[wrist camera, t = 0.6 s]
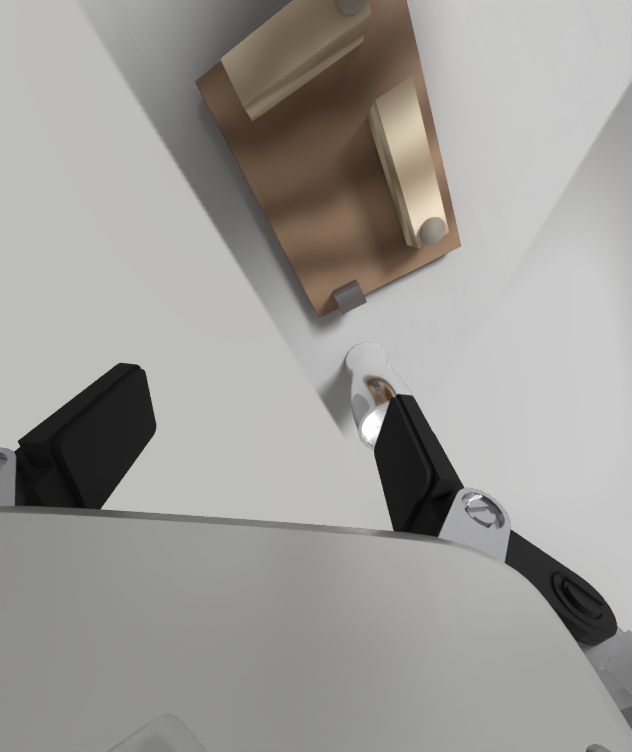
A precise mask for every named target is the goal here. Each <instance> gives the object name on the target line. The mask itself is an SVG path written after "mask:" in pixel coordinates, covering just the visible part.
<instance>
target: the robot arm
mask: <svg viewBox="0 0 632 752" xmlns="http://www.w3.org/2000/svg"><path fill="white" fill-rule="evenodd" d="M155 431H156V421H155V416H154V412H153V407H152V402H151V397H150V392H149V388H148V382H147V377H146V373H145V371H144V370H143V369H141V368H140V366H139V365H136V364H126V363H119V364H117V365H116V366H114V367H113V368H112V369H111V370H109V371H108V372H107V373H105V374H104V375H103V376H101V377H100V378H99V379H98V380H96V381H95V382H94V383H92V384H91V385H90V386H88V387H87V388H86V389H85V390H83V391H82V392H81V393H79V394H78V395H77V396H75V397H74V398H73V399H72V400H70V401H69V402H68V403H66V404H65V405H64V406H62V407H61V408H60V409H59V410H57V411H56V412H55V413H54V414H52V415H51V416H50V417H48V418H47V419H46V420H44V421H43V422H42V423H40V424H39V425H38V426H37V427H35V428H34V429H33V430H31V431H30V432H29V433H27V434H26V435H25V436H24V437H23V438H21V439H20V440H18V443H19V445H20V447H19V448H18V449H17V450H16V451H14V452H13V451H12V450H10V449H7V448H0V752H632V632H631V631H630V630H628V631H627V632H625V633H624V632H623V631H622V630H621V629H620V628H619V627H618V626H617V623H616V619H615V616H614V614H613V612H612V610H611V608H610V606H609V605H608V604H607V602H606V601H605V600H604V598H603V597H602V596H601V595H600V594H599V593H598V592H597V591H596V590H595V589H594V588H593V587H592V586H591V585H590V584H589V583H588V582H586V581H585V580H584V579H583V578H581V577H580V576H579V575H577V574H576V573H574V572H573V571H571V570H570V569H568V568H567V567H565V566H564V565H562V564H561V563H559V562H558V561H556V560H555V559H554V558H552V557H551V556H549V555H548V554H546V553H545V552H543V551H542V550H540V549H539V548H537V547H536V546H534V545H533V544H531V543H530V542H529V541H527V540H526V539H524V538H523V537H521V536H520V535H518V534H517V533H515V532H514V531H512V530H511V521H510V518H509V516H508V513H507V512H506V510H505V509H504V508H503V506H502V505H501V504H499V502H498V501H497V500H496V499H494V498H493V497H491V496H490V495H489V494H487V493H485V492H483V491H481V490H478V489H474V488H464V486H463V484H462V483H461V481H460V479H459V477H458V475H457V474H456V472H455V470H454V468H453V466H452V465H451V463H450V461H449V460H448V458H447V455H446V454H445V452H444V450H443V448H442V446H441V444H440V443H439V441H438V439H437V437H436V435H435V434H434V433H433V431H432V430H431V427H430V426H429V424H428V422H427V420H426V418H425V417H424V415H423V413H422V411H421V409H420V407H419V406H418V404H417V402H416V400H415V398H414V397H413V396H412V395H405V394H397V395H396V396H395V397H392V398H391V399H390V402H389V405H388V408H387V411H386V414H385V417H384V420H383V423H382V426H381V429H380V432H379V435H378V438H377V441H376V443H375V447H374V455H375V459H376V463H377V467H378V471H379V475H380V479H381V483H382V487H383V491H384V495H385V499H386V503H387V507H388V511H389V515H390V518H391V522H392V526H393V530H394V531H385V530H374V529H364V528H352V527H339V526H326V525H313V524H300V523H287V522H274V521H260V520H246V519H232V518H217V517H203V516H189V515H174V514H159V513H145V512H130V511H113V510H100V509H101V508H102V506H103V505H104V503H105V502H106V501H107V499H108V498H109V497H110V495H111V493H112V492H113V491H114V489H115V488H116V487H117V485H118V484H119V483H120V481H121V479H122V478H123V477H124V476H125V474H126V473H127V471H128V470H129V469H130V467H131V466H132V465H133V463H134V462H135V460H136V459H137V458H138V456H139V455H140V453H141V452H142V451H143V449H144V448H145V446H146V445H147V444H148V442H149V441H150V439H151V438H152V437H153V435H154V433H155Z"/></svg>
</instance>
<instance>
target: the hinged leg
mask: <svg viewBox="0 0 632 752" xmlns="http://www.w3.org/2000/svg"><path fill="white" fill-rule="evenodd" d="M367 119H368V122H369V125H370V128H371V132H372V135H373V138H374V141H375V144H376V148H377V151H378V154H379V157H380V160H381V164H382V167H383V170H384V173H385V176H386V180H387V183H388V186H389V189H390V192H391V195H392V199H393V202H394V205H395V208H396V211H397V215H398V218H399V221H400V224H401V227H402V231H403V234H404V237H405V240H406V243H407V245H409V246H412V247H416V248H421V247H423V246H425V245H427V244H429V243H430V244H433V243H436V242H438V241H439V240H440V239H441V238H442V237H443V236H444V235H446V234H448V233H449V229H448V225H447V221H446V217H445V212H444V208H443V204H442V200H441V195H440V191H439V187H438V183H437V179H436V174H435V170H434V166H433V162H432V158H431V153H430V149H429V145H428V141H427V136H426V132H425V128H424V124H423V120H422V115H421V111H420V107H419V103H418V98H417V94H416V90H415V86H414V82H413V77H412V76H411V77H409V78H408V79H406V80H405V81H403V82H402V83H400V84H399V85H397V86H396V87H394V88H393V89H391V90H390V91H388V92H387V93H385V94H384V95H382V96H381V97H379V98H378V99H376V100H375V102H374V103H373V105H372V107H371V109H370V111H369V113H368V114H367Z"/></svg>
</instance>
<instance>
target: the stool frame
mask: <svg viewBox="0 0 632 752" xmlns="http://www.w3.org/2000/svg"><path fill="white" fill-rule="evenodd" d="M220 59H221V61H220V62H219V63H218V64H217V65H215V66H214V67H213V68H212V69H210V70H209V71H208V72H207V73H205V74H204V75H203V76H202V77H200V78H199V79H198V80H197V81H195V82H196V84H197V86H198V88H199V90H200V92H201V94H202V96H203V98H204V100H205V101H206V103H207V105H208V107H209V109H210V111H211V113H212V115H213V117H214V119H215V121H216V122H217V124H218V126H219V128H220V130H221V132H222V134H223V136H224V138H225V140H226V141H227V143H228V145H229V147H230V149H231V151H232V153H233V155H234V157H235V159H236V161H237V162H238V164H239V166H240V168H241V170H242V172H243V174H244V176H245V178H246V180H247V181H248V183H249V185H250V187H251V189H252V191H253V193H254V195H255V197H256V199H257V200H258V202H259V204H260V206H261V208H262V210H263V212H264V214H265V216H266V218H267V220H268V221H269V223H270V225H271V227H272V229H273V231H274V233H275V235H276V237H277V239H278V240H279V242H280V244H281V246H282V248H283V250H284V252H285V254H286V256H287V258H288V260H289V261H290V263H291V265H292V267H293V269H294V271H295V273H296V275H297V277H298V279H299V280H300V282H301V284H302V286H303V288H304V290H305V292H306V294H307V296H308V298H309V300H310V301H311V303H312V305H313V307H314V309H315V311H316V313H317V315H318V317H321V316H323V315H325V314H327V313H329V312H331V311H333V310H335V309H337V308H340V310H341V312H342V314H344V313H346V312H348V311H350V310H352V309H354V308H356V307H358V306H360V305H362V304H364V303H366V302H367V301H366V299H365V297H364V295H365V294H367V293H369V292H371V291H373V290H375V289H377V288H379V287H381V286H383V285H385V284H387V283H389V282H391V281H393V280H395V279H397V278H399V277H401V276H403V275H405V274H407V273H409V272H411V271H413V270H415V269H417V268H419V267H421V266H423V265H425V264H427V263H429V262H431V261H433V260H435V259H437V258H439V257H441V256H443V255H445V254H446V253H448V252H450V251H452V250H454V249H456V248H458V247H460V246H461V243H460V238H459V234H458V229H457V225H456V220H455V216H454V211H453V207H452V202H451V198H450V193H449V189H448V184H447V180H446V175H445V171H444V166H443V162H442V157H441V153H440V148H439V144H438V139H437V135H436V130H435V126H434V121H433V117H432V112H431V108H430V103H429V99H428V94H427V90H426V85H425V81H424V76H423V72H422V67H421V63H420V58H419V54H418V49H417V45H416V40H415V36H414V31H413V27H412V22H411V18H410V13H409V9H408V4H407V0H292V1H291V2H290V3H288V4H287V5H286V6H285V7H283V8H282V9H281V10H280V11H278V12H277V13H276V14H275V15H274V16H272V17H271V18H270V19H269V20H267V21H266V22H265V23H264V24H262V25H261V26H260V27H259V28H257V29H256V30H255V31H254V32H252V33H251V34H250V35H249V36H248V37H246V38H245V39H244V40H243V41H241V42H240V43H239V44H238V45H236V46H235V47H234V48H233V49H231V50H230V51H229V52H228V53H227V54H225V55H224V56H223V57H222V58H220ZM411 76H412V77H413V82H414V86H415V90H416V94H417V98H418V103H419V107H420V111H421V115H422V120H423V124H424V128H425V132H426V136H427V141H428V145H429V149H430V153H431V158H432V162H433V166H434V170H435V174H436V179H437V183H438V187H439V191H440V195H441V200H442V204H443V208H444V212H445V217H446V221H447V225H448V229H449V233H448V234H446V235H444V236H443V237H442V238H441V239H440V240H439V241H438V242H436V243H433V244H430V243H429V244H427V245H425V246H423V247H421V248H416V247H412V246H409V245H407V243H406V240H405V237H404V234H403V231H402V227H401V224H400V221H399V218H398V215H397V211H396V208H395V205H394V202H393V199H392V195H391V192H390V189H389V186H388V183H387V180H386V176H385V173H384V170H383V167H382V164H381V160H380V157H379V154H378V151H377V148H376V144H375V141H374V138H373V135H372V132H371V128H370V125H369V122H368V119H367V114H368V113H369V111H370V109H371V107H372V105H373V103H374V102H375V100H376V99H378V98H379V97H381V96H382V95H384V94H385V93H387V92H388V91H390V90H391V89H393V88H394V87H396V86H397V85H399V84H400V83H402V82H403V81H405V80H406V79H408V78H409V77H411Z"/></svg>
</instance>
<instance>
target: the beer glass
mask: <svg viewBox="0 0 632 752" xmlns="http://www.w3.org/2000/svg"><path fill="white" fill-rule="evenodd" d="M345 364H346V368H347V371H348V372H349V374H350V375H351V389H350V402H351V409H352V413H353V417H354V421H355V424H356V427H357V430H358V433H359V437H360V439H361V441H362V442H363V443H364V444H365V445H366V446H367V447H368V448H370V449H372V450H374V447H375V443H376V441H377V438H378V435H379V432H380V429H381V426H382V423H383V420H384V417H385V414H386V411H387V408H388V405H389V402H390V399H391V398H392V397H395V396H396V395H397V394H405V395H412V396H413V394H412V392H411V390H410V388H409V387H408V385H407V383H406V382H405V381H404V380H403V378H402V377H401V376H400V375H399V374H398V373H397V372H396V371H395V370H394V369H393V368H392V367H391V366H390V365H389V364H388V359H387V354H386V352H385V350H384V349H383V348H382V347H381V346H380V345H378V344H376V343H373V342H363V343H360V344H358V345H356V346H354V347H353V348H352V349H351V350H350V351H349V352H348V354H347V356H346V361H345ZM413 397H414V396H413Z"/></svg>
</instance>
